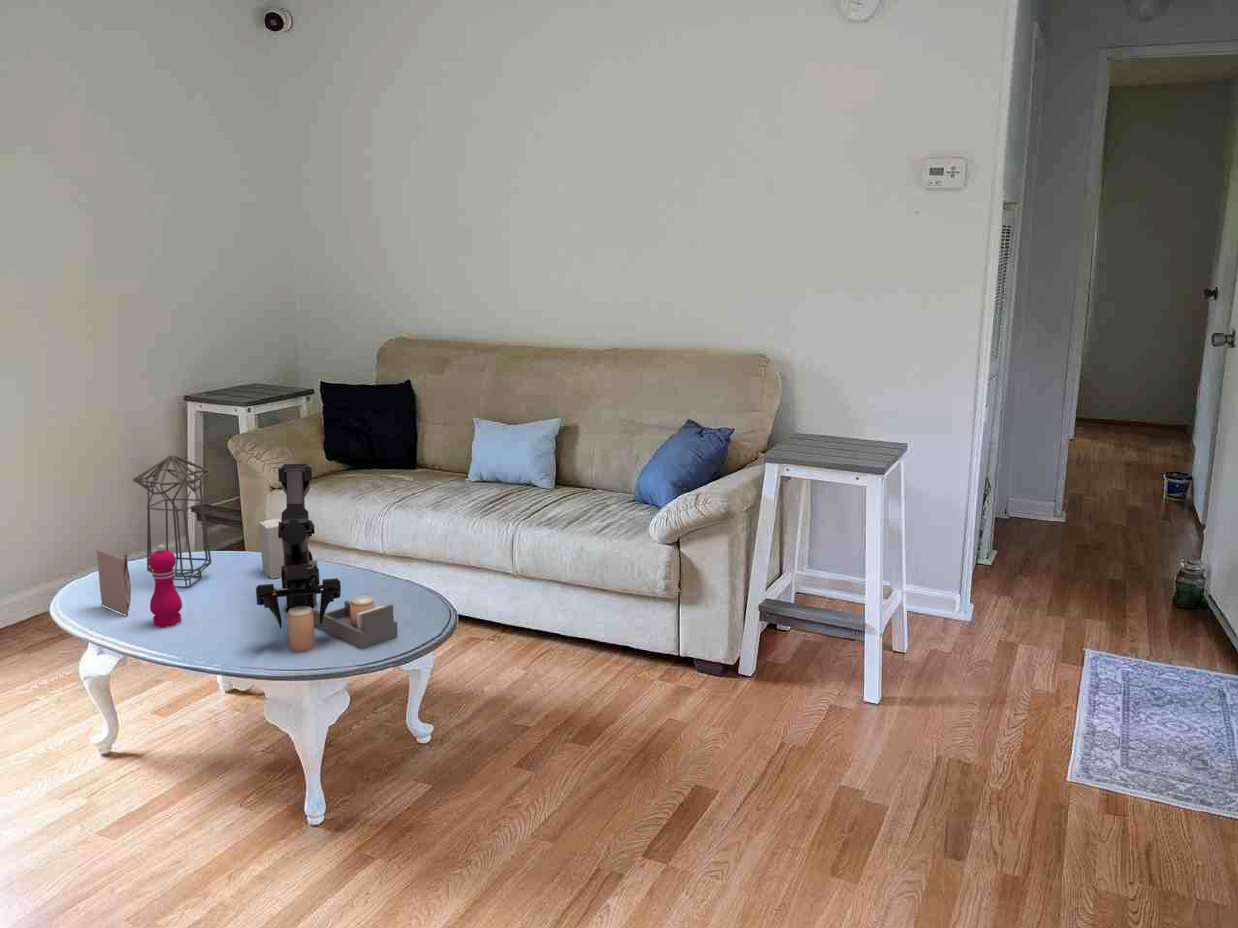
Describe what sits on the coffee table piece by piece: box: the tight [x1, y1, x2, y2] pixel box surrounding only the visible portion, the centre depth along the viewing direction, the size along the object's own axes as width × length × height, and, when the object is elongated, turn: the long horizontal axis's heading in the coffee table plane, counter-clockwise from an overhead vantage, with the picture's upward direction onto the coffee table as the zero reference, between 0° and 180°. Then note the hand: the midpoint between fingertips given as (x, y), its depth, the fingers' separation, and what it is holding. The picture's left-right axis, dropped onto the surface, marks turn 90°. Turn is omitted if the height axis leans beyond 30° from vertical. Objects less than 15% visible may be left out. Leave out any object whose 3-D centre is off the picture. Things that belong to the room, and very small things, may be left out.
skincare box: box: [258, 518, 284, 580], centre depth 293 cm, size 8×6×15 cm
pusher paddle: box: [357, 605, 385, 631], centre depth 249 cm, size 2×7×7 cm, turn 139°
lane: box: [312, 599, 398, 650], centre depth 254 cm, size 20×10×9 cm, turn 49°
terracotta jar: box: [287, 606, 316, 653], centre depth 244 cm, size 6×6×10 cm
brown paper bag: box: [96, 545, 132, 617], centre depth 265 cm, size 11×7×15 cm, turn 21°
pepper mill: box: [149, 544, 183, 628], centre depth 257 cm, size 7×7×20 cm
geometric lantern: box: [132, 454, 214, 589], centre depth 283 cm, size 16×16×35 cm
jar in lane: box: [350, 595, 376, 629], centre depth 252 cm, size 6×6×9 cm
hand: (301, 625), depth 243 cm, fingers open, 8 cm apart
